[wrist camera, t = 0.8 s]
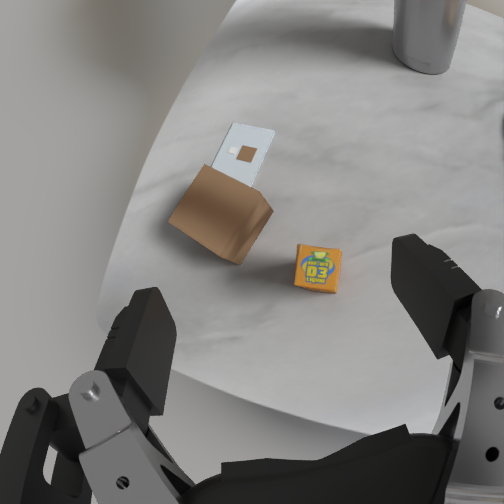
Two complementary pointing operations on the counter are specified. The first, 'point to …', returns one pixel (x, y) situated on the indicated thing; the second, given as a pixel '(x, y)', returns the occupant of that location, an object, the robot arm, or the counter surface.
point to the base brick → (222, 214)
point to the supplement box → (317, 268)
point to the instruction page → (243, 152)
